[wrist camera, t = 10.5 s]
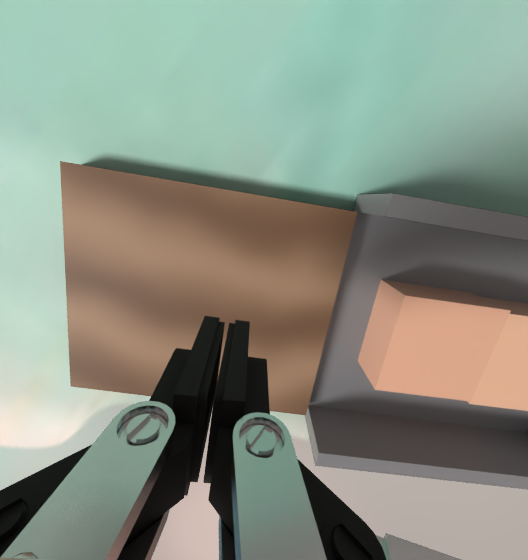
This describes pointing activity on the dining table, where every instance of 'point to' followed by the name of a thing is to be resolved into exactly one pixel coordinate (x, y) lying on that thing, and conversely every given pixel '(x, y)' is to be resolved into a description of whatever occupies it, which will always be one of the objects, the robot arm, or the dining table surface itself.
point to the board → (195, 278)
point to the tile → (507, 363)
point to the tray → (408, 407)
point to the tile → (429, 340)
